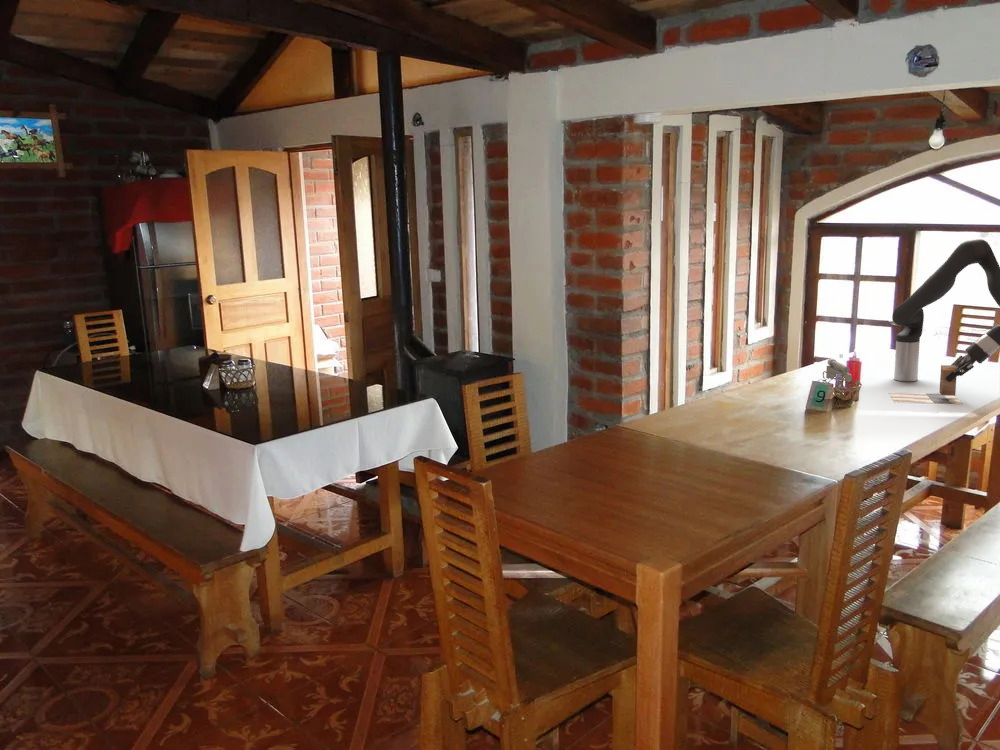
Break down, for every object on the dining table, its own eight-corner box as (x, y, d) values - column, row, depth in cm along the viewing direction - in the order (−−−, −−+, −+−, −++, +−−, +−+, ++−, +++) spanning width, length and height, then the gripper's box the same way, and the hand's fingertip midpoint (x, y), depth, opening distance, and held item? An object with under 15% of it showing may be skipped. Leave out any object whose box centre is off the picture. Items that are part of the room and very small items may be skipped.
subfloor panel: (887, 396, 335) (887, 392, 335) (953, 397, 328) (953, 393, 328) (894, 406, 320) (894, 402, 320) (963, 407, 313) (963, 403, 313)
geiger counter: (855, 367, 329) (831, 355, 353) (839, 367, 329) (816, 356, 353) (853, 400, 332) (830, 387, 356) (837, 401, 332) (815, 387, 356)
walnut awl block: (939, 392, 324) (941, 365, 322) (952, 392, 323) (954, 365, 321) (941, 395, 320) (943, 367, 318) (955, 395, 319) (957, 367, 316)
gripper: (970, 338, 322) (934, 368, 327) (980, 345, 308) (942, 376, 314) (984, 351, 321) (948, 381, 327) (995, 359, 308) (957, 389, 314)
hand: (945, 378), depth 321 cm, fingers closed on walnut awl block, 4 cm apart
